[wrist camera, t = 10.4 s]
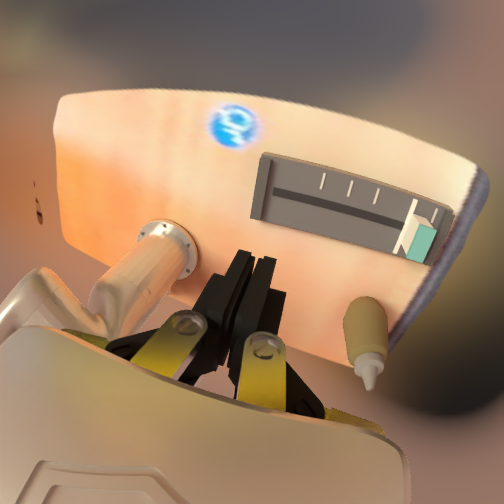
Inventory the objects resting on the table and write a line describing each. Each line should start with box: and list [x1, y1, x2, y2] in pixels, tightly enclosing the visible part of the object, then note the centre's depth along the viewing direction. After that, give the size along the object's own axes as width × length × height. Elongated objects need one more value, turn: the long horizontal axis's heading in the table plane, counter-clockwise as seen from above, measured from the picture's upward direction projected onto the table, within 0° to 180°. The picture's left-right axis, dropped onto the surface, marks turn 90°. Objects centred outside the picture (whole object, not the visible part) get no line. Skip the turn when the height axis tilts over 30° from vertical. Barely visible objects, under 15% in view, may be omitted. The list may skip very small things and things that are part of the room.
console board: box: [250, 152, 455, 266], centre depth 39 cm, size 10×30×3 cm, turn 81°
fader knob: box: [401, 214, 437, 263], centre depth 36 cm, size 5×3×4 cm, turn 171°
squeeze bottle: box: [343, 297, 388, 391], centre depth 42 cm, size 8×8×18 cm
